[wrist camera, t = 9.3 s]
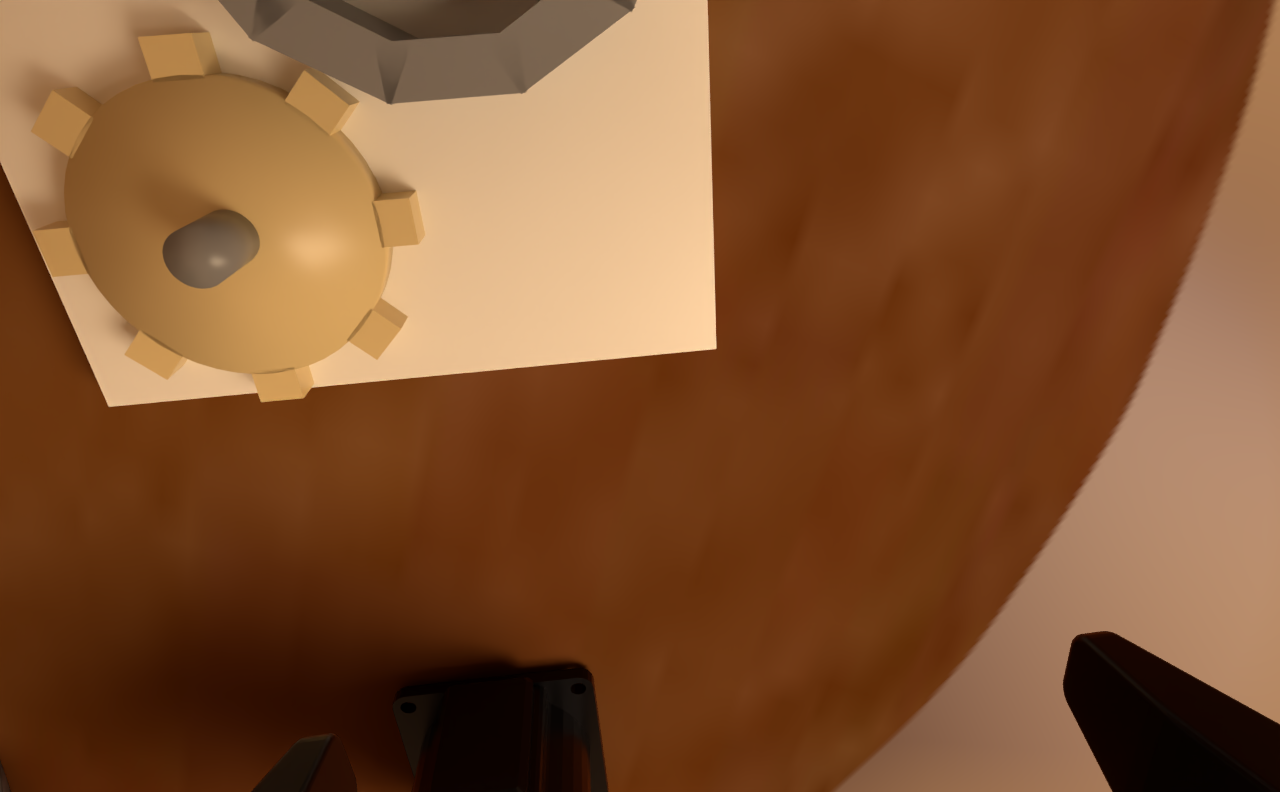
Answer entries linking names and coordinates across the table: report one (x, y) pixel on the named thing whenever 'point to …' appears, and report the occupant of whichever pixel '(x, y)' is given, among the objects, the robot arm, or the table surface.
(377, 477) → the table surface
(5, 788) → the tree stump
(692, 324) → the gear board
